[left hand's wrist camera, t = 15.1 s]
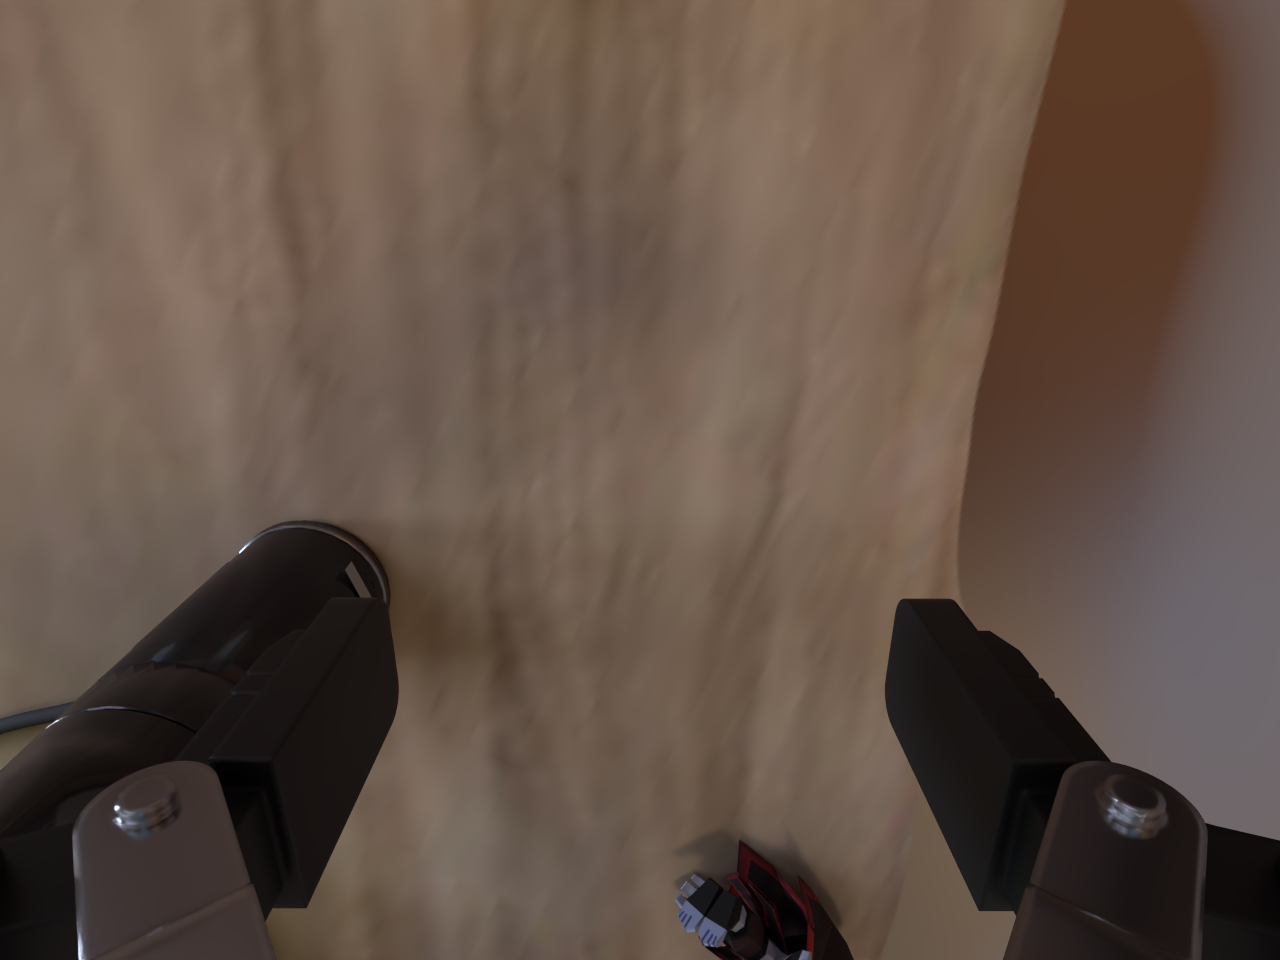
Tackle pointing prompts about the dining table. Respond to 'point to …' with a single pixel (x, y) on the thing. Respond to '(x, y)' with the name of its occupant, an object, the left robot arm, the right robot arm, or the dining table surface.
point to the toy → (759, 916)
